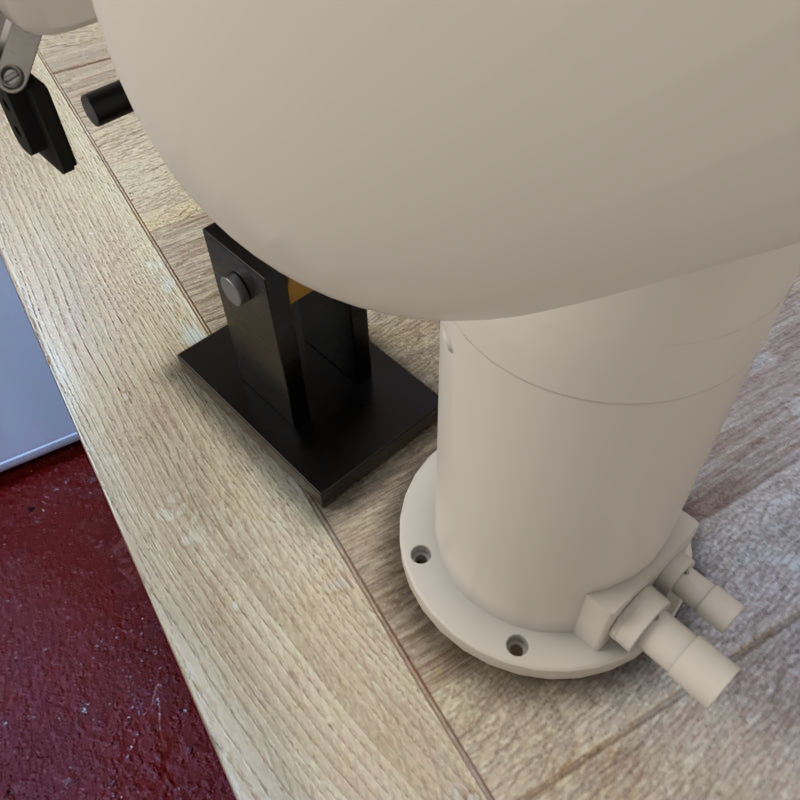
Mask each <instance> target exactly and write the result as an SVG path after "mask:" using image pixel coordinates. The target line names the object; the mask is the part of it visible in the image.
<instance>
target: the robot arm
mask: <svg viewBox="0 0 800 800" xmlns="http://www.w3.org/2000/svg"><path fill="white" fill-rule="evenodd" d="M96 23H98V26H99V29H100V32H101V35H102V38H103V42H104V44H105V47H106V49H107V50H106V51H107V52H108V55H109V58H110V60H111V63H112V65H113V68H114V70H115V72H116V75H117V78H118V80H120V82H121V84H122V87H123V89H124V91H125V93H126V95H127V97H128V99H129V102H130V104H131V106H132V108H133V110H134V112H133V113H134V114H135V116H136V118H137V119H138V122H139V123H140V125H141V127H142V129H143V130H144V133H145V134H146V136H147V137H148V139H149V141H150V143H151V145H152V147H153V148H154V149H155V151H156V152H157V153H158V155H159V157H160V159H161V160H162V161H163V163H164V164H165V166H166V168H168V170H169V172H170V173H171V174H172V176H173V177H174V178H175V179H176V181H177V182H178V184H179V185H180V186H181V187H182V189H184V191H185V192H186V194H187V195H188V196H189V197H190V198H191V199H192V201H193V202H195V204H196V205H197V206H198V207H199V208H200V209H201V210H202V211H203V212H204V213H205V214H206V216H208V218H210V220H211V221H213V223H214V222H215V223H216V224H217V225H218V226H219V227H220V228H222V229H223V230H224V231H225V232H226V233H227V234H228V235H229V236H230V237H231V238H233V239H234V240H235V241H236V242H238V243H239V244H240V245H242V246H243V247H244V248H245V249H247V250H248V251H249V252H250V253H252V254H253V255H254V256H256V257H257V258H259V259H260V260H262V261H263V262H265V263H266V264H268V265H269V266H271V267H272V268H274V269H275V270H277V271H278V272H280V273H282V274H284V275H286V276H287V277H289V278H291V279H293V280H295V281H296V282H298V283H300V284H302V285H304V286H306V287H308V288H310V289H313V290H315V291H317V292H319V293H321V294H324V295H326V296H328V297H330V298H333V299H336V300H339V301H342V302H345V303H347V304H350V305H353V306H356V307H359V308H363V309H367V311H371V312H374V313H379V314H383V315H386V316H387V315H388V316H394V317H398V318H399V317H400V318H405V319H412V320H423V321H434V322H435V321H437V322H440V323H439V351H438V352H439V353H438V354H439V355H438V356H439V357H438V390H437V391H438V392H437V393H438V394H437V395H438V421H437V434H436V435H437V436H436V438H437V439H436V450H435V451H433V452H432V453H431V454H430V455H428V457H427V458H426V459H425V461H424V462H423V463H422V465H421V466H420V467H419V468H418V470H417V471H416V472H415V474H414V475H413V478H412V479H411V480H412V481H411V482H410V484H409V486H408V488H407V491H406V492H405V494H404V499H403V503H402V508H401V512H400V516H399V547H400V559H401V565H402V567H403V570H404V574H405V577H406V581H407V583H408V587H409V588H410V590H411V592H412V594H413V596H414V598H415V599H416V601H417V603H418V605H419V606H420V609H421V610H422V612H423V613H424V614H425V615H426V616H427V618H428V619H429V620H430V621H431V622H432V623H433V625H434V626H435V628H437V629H438V630H439V632H440V633H441V634H443V635H444V636H445V637H446V638H447V639H449V640H450V641H451V642H452V643H453V644H454V645H456V646H457V647H458V648H459V649H460V650H462V651H463V652H466V653H467V654H469V655H471V656H473V657H474V658H476V659H478V660H480V661H482V662H483V663H485V664H487V665H489V666H491V667H494V668H497V669H500V670H503V671H506V672H509V673H512V674H515V675H518V676H523V677H529V678H530V677H532V678H537V679H543V680H544V679H545V680H564V679H565V680H568V679H570V680H571V679H582V678H586V677H590V676H594V675H599V674H602V673H606V672H610V671H611V670H614V669H616V668H618V667H621V666H622V665H625V664H626V663H629V662H631V661H633V660H634V659H636V658H637V657H639V656H640V655H641V654H642V653H644V654H645V655H647V657H649V658H650V659H651V660H653V661H654V662H655V663H656V664H657V665H658V666H659V667H661V669H663V670H664V671H665V672H666V673H667V674H666V676H668V677H669V678H670V679H671V680H673V681H674V682H675V683H676V684H677V685H678V686H680V687H681V688H682V689H683V690H684V691H685V692H686V693H688V694H689V695H690V696H691V697H692V698H693V699H694V700H696V701H697V702H698V703H699V704H700V705H702V706H703V707H704V708H705V709H706V710H709V708H710V707H711V706H712V705H713V704H714V703H715V701H716V700H717V699H718V698H719V696H720V695H721V694H722V693H723V692H724V690H725V689H726V688H727V687H728V685H730V683H731V682H732V681H733V679H734V678H735V677H736V676H737V674H738V673H740V671H741V669H742V667H740V666H739V665H738V664H737V663H736V662H734V661H733V660H732V659H731V658H729V657H728V656H727V655H726V654H724V653H723V652H722V651H721V650H720V649H718V648H717V647H715V645H713V644H712V643H711V642H710V641H708V640H707V639H706V638H705V637H704V636H702V635H701V634H699V635H697V634H696V633H694V632H693V631H692V630H691V629H690V628H689V627H687V626H686V625H685V624H684V623H683V622H681V620H679V619H677V618H676V617H675V616H676V614H677V612H678V611H679V609H680V607H681V606H682V604H683V602H684V604H685V605H687V606H689V607H690V608H691V609H692V610H694V613H695V614H696V615H697V616H698V617H700V619H702V620H703V621H704V622H705V623H706V624H708V625H710V626H711V627H712V628H713V629H715V630H716V631H717V632H718V633H720V635H724V634H725V633H726V632H727V630H728V629H729V628H730V627H731V626H732V624H733V623H734V622H735V621H736V619H737V618H738V617H739V616H740V615H741V613H742V612H743V611H744V609H746V606H745V605H744V604H742V602H740V601H739V600H738V599H736V598H735V597H734V596H733V595H731V594H730V593H729V592H727V591H726V590H725V589H723V588H722V587H721V586H720V585H718V584H714V583H713V582H712V581H710V580H709V579H708V578H707V577H705V576H704V575H702V574H701V573H700V572H699V571H697V570H696V569H695V568H694V566H695V565H696V560H694V559H693V550H692V549H693V548H692V540H693V538H694V536H695V534H696V532H697V530H698V528H699V527H700V522H699V521H698V520H697V519H695V518H694V517H693V516H692V515H691V514H689V513H687V512H686V511H685V510H683V509H684V506H685V504H686V503H687V501H688V498H689V496H690V494H691V492H692V490H693V489H694V486H695V484H696V482H697V480H698V478H699V475H700V473H701V471H702V469H703V467H704V466H705V463H706V461H707V459H708V457H709V455H710V453H711V451H712V449H713V447H714V445H715V443H716V441H717V439H718V437H719V435H720V432H721V431H722V428H723V426H724V424H725V422H726V420H727V418H728V416H729V413H730V412H731V410H732V408H733V405H734V403H735V402H736V399H737V397H738V395H739V393H740V391H741V389H742V387H743V385H744V383H745V381H746V379H747V377H748V375H749V373H750V370H751V368H752V366H753V364H754V362H755V360H756V358H757V356H758V354H759V353H760V351H761V350H762V348H763V346H764V344H765V342H766V340H767V338H768V336H769V335H770V332H771V330H772V328H773V326H774V324H775V323H776V320H777V318H778V316H779V315H780V312H781V310H782V308H783V305H784V304H785V302H786V300H787V298H788V296H789V293H790V292H791V289H792V288H793V286H794V284H795V282H796V279H797V277H798V275H799V274H800V0H0V107H1V109H2V111H3V114H4V115H5V117H6V119H7V122H8V124H9V127H10V128H11V131H12V133H13V135H14V137H15V139H16V141H17V142H18V144H19V145H20V147H21V148H22V149H23V151H24V152H26V153H27V154H28V155H29V156H31V157H32V156H35V155H37V154H39V155H40V156H41V157H43V158H44V159H45V160H46V161H47V162H48V163H50V165H52V166H53V167H54V168H55V169H56V170H57V171H58V172H60V174H62V175H66V174H68V173H70V172H72V171H75V168H76V167H75V166H78V161H77V159H76V156H75V154H74V151H73V149H72V146H71V144H70V141H69V137H68V135H67V133H66V131H65V128H64V125H63V122H62V120H61V117H60V115H59V113H58V110H57V108H56V105H55V103H54V100H53V98H52V95H51V92H50V90H49V88H48V87H47V86H46V84H45V83H44V82H43V81H41V80H40V79H39V78H38V77H36V76H35V75H34V74H33V73H32V69H33V66H34V64H35V61H36V58H37V57H36V56H37V53H38V51H39V47H40V45H41V42H42V38H43V36H56V35H62V34H66V33H69V32H73V31H76V30H79V29H81V28H85V27H86V26H91V25H94V24H96ZM419 561H424V563H418V562H419ZM513 649H515V650H518V651H520V653H521V655H515V654H513V653H511V650H513Z"/></svg>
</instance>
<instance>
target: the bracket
mask: <svg viewBox="0 0 800 800" xmlns="http://www.w3.org/2000/svg"><path fill="white" fill-rule="evenodd" d="M202 233H203V238H204V241H205V244H206V249H207V252H208V256H209V259H210V264H211V267H212V271H213V275H214V279H215V281H216V286H217V290H218V293H219V297H220V301H221V304H222V309H223V310H224V311H223V312H224V315H225V319H226V324H225V325H224V326H222V327H221V328H219V329H217V330H215V331H214V332H213V333H211V334H209V335H207V336H205V337H204V338H202V339H200V340H199V341H198V342H196V343H194V344H192V345H191V346H189V347H187V348H185V349H184V350H182V351H181V352H179V353H178V354H177V355H176V356H177V359H178V363H179V365H180V368H181V370H182V371H183V372H184V373H185V375H187V377H189V378H190V379H191V380H192V381H193V382H194V383H195V384H196V385H197V386H198V387H199V388H200V389H201V390H202V391H203V392H204V393H205V394H206V395H207V396H208V397H209V398H211V400H212V401H214V403H215V404H216V405H217V406H218V407H219V408H221V410H223V412H225V414H226V415H228V416H229V417H230V418H231V419H232V420H233V421H234V422H235V423H236V424H237V425H238V426H239V427H240V428H241V429H242V430H243V432H245V433H246V434H247V435H248V436H249V437H250V438H251V439H252V440H253V441H254V443H256V444H257V445H258V446H259V447H260V448H261V449H262V450H263V451H264V452H265V453H266V454H267V455H268V456H269V457H270V458H271V459H272V460H273V461H274V462H275V463H276V464H277V465H278V466H279V467H280V468H281V469H282V470H283V471H284V472H286V474H288V475H289V476H290V478H292V479H293V480H294V482H296V483H297V484H298V486H300V487H301V488H302V489H303V490H304V491H305V492H306V494H308V495H309V496H310V497H311V498H312V499H313V500H314V502H316V503H317V504H318V505H319V506H320V508H322V509H325V508H327V507H328V506H329V505H330V504H331V503H333V502H334V501H336V500H337V499H338V498H339V497H341V496H342V495H343V494H344V493H346V492H347V491H349V490H350V489H351V488H352V487H354V486H355V485H356V484H358V483H359V482H360V481H362V480H364V479H365V478H366V477H367V476H368V475H369V474H371V473H372V472H374V471H375V470H376V469H377V468H379V467H380V466H381V465H382V464H383V463H385V462H386V461H388V460H389V459H390V458H391V457H393V456H394V455H396V454H397V453H398V452H399V451H401V450H402V449H403V448H404V447H406V446H407V445H408V444H410V443H411V442H412V441H414V440H415V439H416V438H417V437H419V436H420V435H421V434H423V433H424V432H425V431H426V430H428V429H430V428H431V427H432V426H433V425H434V424H435V423H438V394H437V393H436V392H435V391H434V390H433V389H431V388H430V386H427V385H426V384H425V383H424V382H422V381H421V380H420V379H419V378H418V377H416V376H415V375H414V374H413V373H411V372H410V371H409V370H407V369H406V368H405V367H403V366H402V365H401V364H400V363H398V361H396V360H395V359H393V358H392V357H391V356H390V355H388V354H387V353H386V352H385V351H384V350H382V349H381V348H380V347H378V346H377V345H375V344H374V343H373V342H372V341H371V340H370V332H369V331H370V330H369V320H368V319H369V317H368V310H367V309H363V308H359V307H356V306H353V305H350V304H347V303H345V302H342V301H339V300H336V299H333V298H330V297H328V296H326V295H324V294H321V293H319V292H317V291H315V290H313V291H311V292H310V293H308V294H307V295H305V296H303V297H302V298H300V299H298V300H297V301H295V302H294V303H292V304H290V298H289V292H288V287H287V281H286V275H284V274H282V273H280V272H278V271H277V270H275V269H274V268H272V267H271V266H269V265H268V264H266V263H265V262H263V261H262V260H260V259H259V258H257V257H256V256H254V255H253V254H252V253H250V252H249V251H248V250H247V249H245V248H244V247H243V246H242V245H240V244H239V243H238V242H236V241H235V240H234V239H233V238H231V237H230V236H229V235H228V234H227V233H226V232H225V231H224V230H223V229H222V228H220V227H219V226H218V225H217V224H216V223H215V222H214V221H213V222H211V223H210V224H208V225H206V226H204V227H203V228H202Z"/></svg>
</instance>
